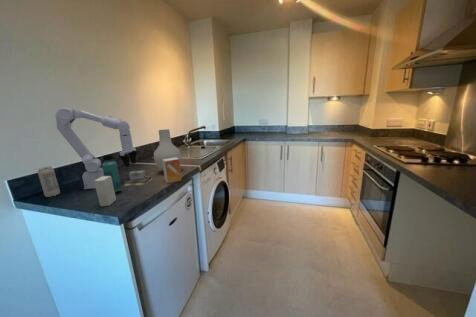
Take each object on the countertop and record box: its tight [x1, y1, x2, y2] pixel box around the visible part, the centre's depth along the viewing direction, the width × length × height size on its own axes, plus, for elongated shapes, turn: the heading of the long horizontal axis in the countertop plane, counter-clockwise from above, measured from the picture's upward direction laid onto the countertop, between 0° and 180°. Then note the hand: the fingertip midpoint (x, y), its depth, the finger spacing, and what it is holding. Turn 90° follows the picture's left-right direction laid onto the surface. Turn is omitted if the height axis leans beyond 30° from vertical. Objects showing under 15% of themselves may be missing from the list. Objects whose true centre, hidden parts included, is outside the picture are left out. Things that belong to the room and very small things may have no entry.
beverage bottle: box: [101, 153, 122, 193], centre depth 100 cm, size 6×7×20 cm
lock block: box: [128, 170, 147, 181], centre depth 115 cm, size 7×4×6 cm, turn 92°
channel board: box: [123, 175, 153, 187], centre depth 116 cm, size 12×9×2 cm
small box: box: [162, 157, 183, 184], centre depth 115 cm, size 8×6×13 cm
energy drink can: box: [37, 165, 61, 198], centre depth 101 cm, size 6×6×15 cm
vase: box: [153, 129, 181, 171], centre depth 131 cm, size 17×16×28 cm
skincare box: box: [94, 176, 117, 207], centre depth 89 cm, size 6×4×12 cm
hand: (130, 164), depth 120 cm, fingers open, 7 cm apart
